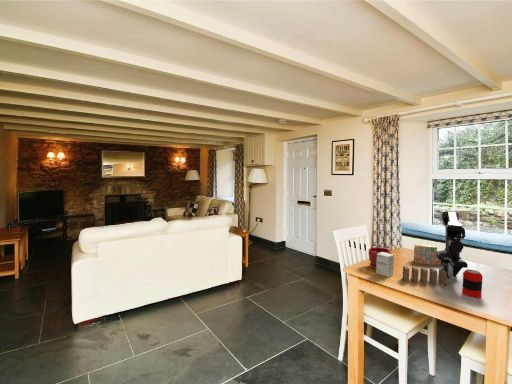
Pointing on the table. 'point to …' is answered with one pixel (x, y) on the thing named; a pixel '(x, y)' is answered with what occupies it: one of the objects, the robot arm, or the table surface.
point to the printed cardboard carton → (426, 254)
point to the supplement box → (385, 264)
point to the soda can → (472, 283)
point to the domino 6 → (450, 271)
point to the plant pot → (374, 255)
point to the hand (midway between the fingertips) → (452, 274)
